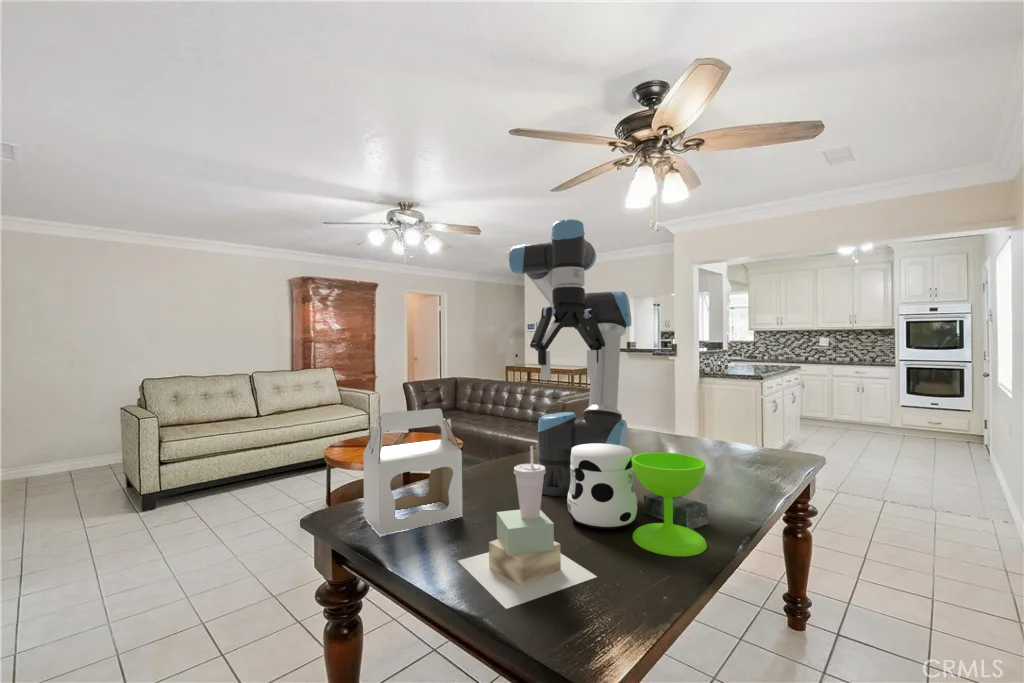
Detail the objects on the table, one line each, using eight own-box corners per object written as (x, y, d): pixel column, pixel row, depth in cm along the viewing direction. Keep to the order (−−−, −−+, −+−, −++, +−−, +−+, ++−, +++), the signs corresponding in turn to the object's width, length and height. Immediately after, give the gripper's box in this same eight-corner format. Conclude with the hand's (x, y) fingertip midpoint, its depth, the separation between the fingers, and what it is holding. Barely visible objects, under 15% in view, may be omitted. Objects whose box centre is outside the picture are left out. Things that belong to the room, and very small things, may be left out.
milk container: (650, 520, 114) (649, 449, 114) (612, 542, 102) (611, 462, 102) (593, 504, 126) (592, 439, 127) (553, 521, 114) (552, 450, 114)
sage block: (496, 536, 92) (496, 512, 93) (538, 531, 95) (538, 507, 95) (508, 556, 84) (508, 529, 84) (553, 549, 86) (553, 523, 86)
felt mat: (457, 562, 93) (457, 560, 93) (538, 540, 103) (538, 538, 103) (506, 611, 76) (506, 608, 76) (597, 578, 86) (597, 576, 86)
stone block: (667, 507, 124) (667, 488, 124) (712, 525, 112) (712, 503, 112) (643, 512, 120) (643, 493, 120) (686, 532, 107) (686, 510, 108)
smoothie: (536, 524, 86) (535, 450, 86) (507, 518, 89) (507, 447, 89) (551, 514, 91) (551, 444, 91) (524, 508, 95) (523, 441, 95)
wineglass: (646, 521, 114) (645, 449, 114) (714, 536, 104) (713, 458, 104) (621, 543, 101) (620, 462, 101) (695, 563, 91) (694, 474, 92)
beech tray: (489, 567, 90) (488, 542, 90) (526, 552, 96) (526, 528, 96) (522, 587, 82) (522, 559, 82) (560, 569, 89) (560, 543, 89)
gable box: (442, 503, 129) (441, 404, 129) (463, 517, 117) (462, 409, 118) (362, 520, 116) (361, 411, 117) (378, 538, 105) (377, 418, 106)
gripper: (532, 282, 96) (533, 382, 96) (619, 288, 109) (620, 376, 109) (514, 286, 103) (515, 379, 103) (598, 292, 116) (599, 375, 115)
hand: (569, 378), depth 106 cm, fingers open, 13 cm apart
